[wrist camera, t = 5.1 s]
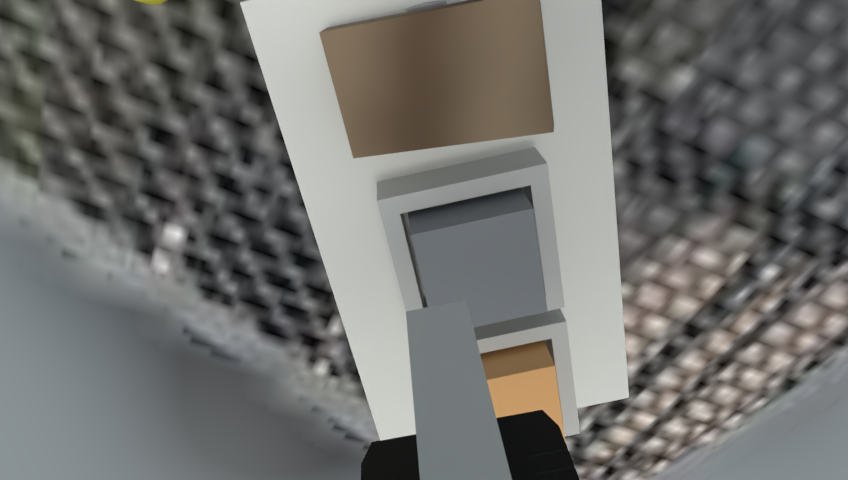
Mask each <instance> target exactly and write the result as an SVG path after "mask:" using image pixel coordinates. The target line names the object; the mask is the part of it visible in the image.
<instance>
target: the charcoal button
mask: <svg viewBox="0 0 848 480" xmlns="http://www.w3.org/2000/svg"><path fill="white" fill-rule="evenodd" d="M408 219H409V227H410V235H411V239H412V243H413V247H414V252H415V256H416V260H417V264H418V268H419V272H420V276H421V281H422V285H423V289H424V293H425V297H426V301H427V305H428V307H433V306H438V305H444V304H449V303H455V302H460V301H465V300H466V301H467V305H468V308H469V312H470V316H471V320H472V324H473V327H478V326H483V325H487V324H492V323H497V322H501V321H506V320H511V319H515V318H520V317H525V316H529V315H534V314H539V313H543V312H548V311H547V303H546V296H545V289H544V281H543V274H542V267H541V259H540V252H539V245H538V237H537V230H536V223H535V215H534V208H533V207H532V205H531V203H530V201H529V200H528V198H527V196H526V195H525V193H524V191H523V190H522V188H521V187H520V188H516V189H511V190H507V191H502V192H498V193H493V194H488V195H484V196H479V197H475V198H470V199H466V200H461V201H456V202H452V203H447V204H443V205H438V206H434V207H429V208H425V209H420V210H415V211H411V212H408Z"/></svg>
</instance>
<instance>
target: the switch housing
mask: <svg viewBox="0 0 848 480" xmlns="http://www.w3.org/2000/svg"><path fill="white" fill-rule="evenodd" d="M461 1H466V0H244V1H242V2H240V4H241V7H242V11H243V14H244V17H245V20H246V23H247V26H248V29H249V32H250V35H251V39H252V42H253V45H254V48H255V51H256V54H257V57H258V60H259V64H260V67H261V70H262V73H263V76H264V79H265V82H266V85H267V88H268V92H269V95H270V98H271V101H272V104H273V107H274V110H275V113H276V116H277V120H278V123H279V126H280V129H281V132H282V135H283V138H284V141H285V145H286V148H287V151H288V154H289V157H290V160H291V163H292V166H293V169H294V173H295V176H296V179H297V182H298V185H299V188H300V191H301V194H302V197H303V201H304V204H305V207H306V210H307V213H308V216H309V219H310V222H311V226H312V229H313V232H314V235H315V238H316V241H317V244H318V247H319V250H320V254H321V257H322V260H323V263H324V266H325V269H326V272H327V275H328V278H329V282H330V285H331V288H332V291H333V294H334V297H335V300H336V303H337V307H338V310H339V313H340V316H341V319H342V322H343V325H344V328H345V331H346V335H347V338H348V341H349V344H350V347H351V350H352V353H353V356H354V359H355V363H356V366H357V369H358V372H359V375H360V378H361V381H362V384H363V388H364V391H365V394H366V397H367V400H368V403H369V406H370V409H371V412H372V416H373V419H374V422H375V425H376V428H377V431H378V434H379V437H380V440H387V439H392V438H398V437H403V436H409V435H414V434H416V427H415V415H414V403H413V391H412V379H411V367H410V356H409V344H408V332H407V320H406V311H411V310H417V309H422V308H427V307H428V305H427V301H426V297H425V293H424V289H423V285H422V281H421V276H420V272H419V268H418V264H417V260H416V256H415V252H414V247H413V243H412V239H411V235H410V227H409V219H408V212H411V211H415V210H420V209H425V208H429V207H434V206H438V205H443V204H447V203H452V202H456V201H461V200H466V199H470V198H475V197H479V196H484V195H488V194H493V193H498V192H502V191H507V190H511V189H516V188H520V187H521V188H522V190H523V191H524V193H525V195H526V196H527V198H528V200H529V201H530V203H531V205H532V207H533V208H534V215H535V223H536V230H537V237H538V245H539V252H540V259H541V267H542V274H543V281H544V289H545V296H546V303H547V311H548V312H543V313H539V314H534V315H529V316H525V317H520V318H515V319H511V320H506V321H501V322H497V323H492V324H487V325H483V326H478V327H473V328H474V332H475V336H476V340H477V344H478V348H479V352H480V354H481V353H486V352H490V351H495V350H500V349H504V348H509V347H514V346H518V345H523V344H528V343H533V342H537V341H542V340H544V341H545V343H546V346H547V348H548V350H549V353H550V355H551V357H552V360H553V362H554V365H555V369H556V377H557V384H558V391H559V399H560V406H561V414H562V421H563V428H564V436H570V435H575V434H579V433H580V429H579V421H578V413H577V408H581V407H586V406H591V405H595V404H600V403H605V402H610V401H614V400H619V399H624V398H629V392H628V377H627V363H626V348H625V334H624V320H623V305H622V291H621V277H620V262H619V248H618V233H617V219H616V205H615V190H614V176H613V161H612V147H611V133H610V118H609V104H608V89H607V75H606V61H605V46H604V32H603V18H602V3H601V0H540V2H541V11H542V20H543V28H544V37H545V46H546V55H547V64H548V73H549V82H550V91H551V100H552V109H553V118H554V132H551V133H544V134H536V135H528V136H521V137H513V138H506V139H498V140H490V141H483V142H475V143H467V144H460V145H452V146H445V147H437V148H429V149H422V150H414V151H407V152H399V153H391V154H384V155H376V156H368V157H361V158H353V155H352V152H351V148H350V144H349V141H348V137H347V133H346V130H345V126H344V122H343V119H342V115H341V111H340V108H339V104H338V100H337V96H336V93H335V89H334V85H333V82H332V78H331V74H330V71H329V67H328V63H327V60H326V56H325V52H324V49H323V45H322V41H321V38H320V34H319V32H321V31H322V30H324V29H326V28H328V27H332V26H337V25H342V24H348V23H353V22H358V21H363V20H368V19H373V18H379V17H384V16H389V15H394V14H399V13H404V12H410V11H415V10H420V9H425V8H430V7H435V6H440V5H446V4H451V3H456V2H461Z"/></svg>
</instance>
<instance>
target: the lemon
mask: <svg viewBox="0 0 848 480" xmlns="http://www.w3.org/2000/svg"><path fill="white" fill-rule="evenodd" d="M135 1H138V2H141V3H145V4H149V5H160V4H163V3H164V2H165V1H167V0H135Z"/></svg>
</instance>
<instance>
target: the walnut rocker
mask: <svg viewBox="0 0 848 480" xmlns="http://www.w3.org/2000/svg"><path fill="white" fill-rule="evenodd" d="M319 34H320V38H321V41H322V45H323V49H324V52H325V56H326V60H327V63H328V67H329V71H330V74H331V78H332V82H333V85H334V89H335V93H336V96H337V100H338V104H339V108H340V111H341V115H342V119H343V122H344V126H345V130H346V133H347V137H348V141H349V144H350V148H351V152H352V155H353V158H361V157H368V156H376V155H384V154H391V153H399V152H407V151H414V150H422V149H429V148H437V147H445V146H452V145H460V144H467V143H475V142H483V141H490V140H498V139H506V138H513V137H521V136H528V135H536V134H544V133H551V132H554V118H553V109H552V100H551V91H550V82H549V73H548V64H547V55H546V46H545V37H544V28H543V20H542V11H541V2H540V0H466V1H461V2H456V3H451V4H446V5H440V6H435V7H430V8H425V9H420V10H415V11H410V12H404V13H399V14H394V15H389V16H384V17H379V18H373V19H368V20H363V21H358V22H353V23H348V24H342V25H337V26H332V27H328V28H326V29H324V30H322V31H321V32H319Z"/></svg>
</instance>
